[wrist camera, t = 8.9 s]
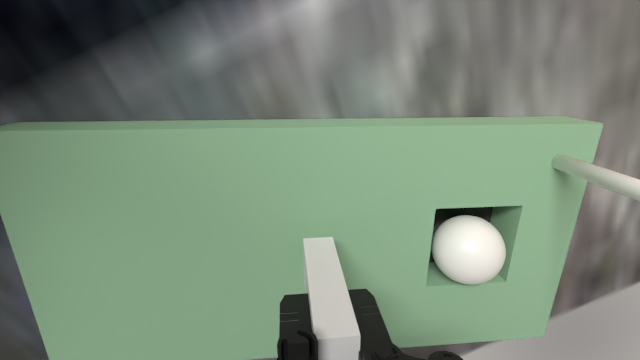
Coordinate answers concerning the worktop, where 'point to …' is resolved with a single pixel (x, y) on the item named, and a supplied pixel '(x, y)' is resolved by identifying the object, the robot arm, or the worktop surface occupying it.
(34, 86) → the worktop surface
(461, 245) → the ball
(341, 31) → the worktop surface
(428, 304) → the putting deck
